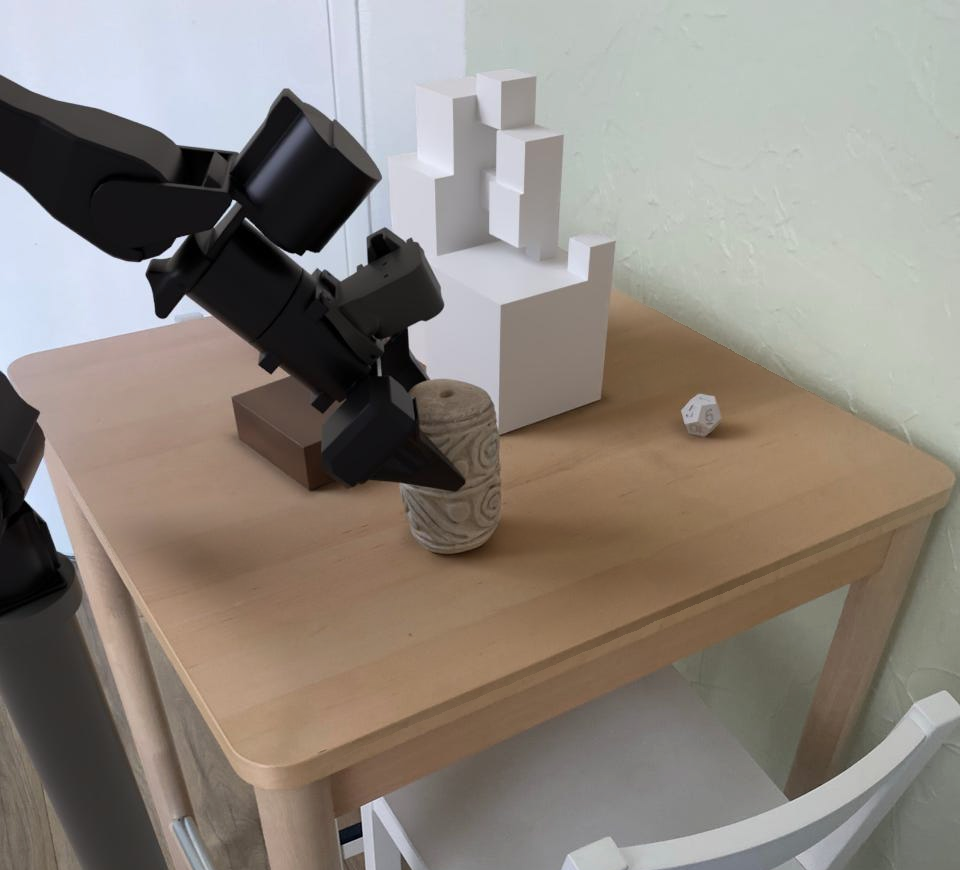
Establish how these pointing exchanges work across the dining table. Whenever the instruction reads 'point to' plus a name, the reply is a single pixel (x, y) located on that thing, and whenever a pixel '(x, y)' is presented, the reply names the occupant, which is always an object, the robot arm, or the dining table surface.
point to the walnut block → (285, 428)
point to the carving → (473, 451)
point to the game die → (701, 415)
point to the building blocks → (501, 250)
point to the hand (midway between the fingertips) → (455, 450)
